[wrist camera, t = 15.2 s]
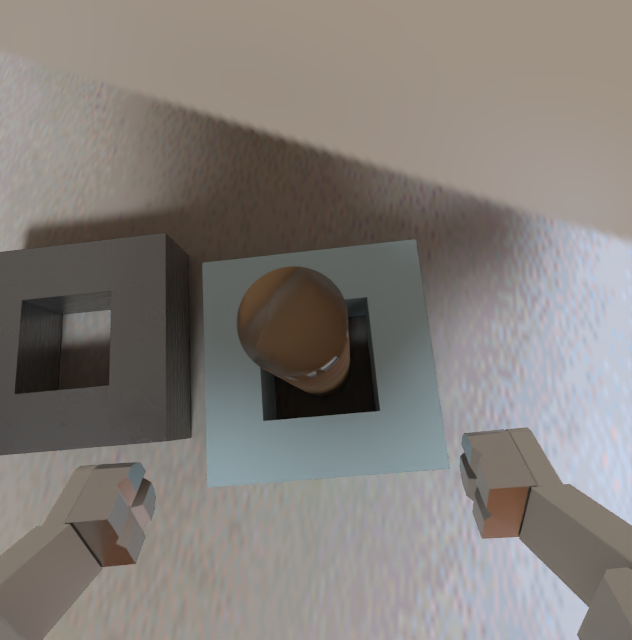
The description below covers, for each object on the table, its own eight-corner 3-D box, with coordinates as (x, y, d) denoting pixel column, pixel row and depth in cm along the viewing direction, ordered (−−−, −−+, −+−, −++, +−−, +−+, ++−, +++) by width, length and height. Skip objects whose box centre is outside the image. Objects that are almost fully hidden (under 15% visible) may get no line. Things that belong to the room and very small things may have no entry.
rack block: (230, 476, 21) (207, 487, 18) (223, 285, 23) (202, 262, 20) (433, 460, 20) (449, 468, 17) (406, 265, 23) (415, 239, 19)
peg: (294, 398, 22) (239, 381, 11) (290, 341, 22) (234, 272, 12) (353, 393, 22) (353, 370, 11) (347, 336, 22) (342, 260, 12)
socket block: (5, 453, 22) (-47, 459, 19) (20, 274, 25) (-25, 254, 22) (190, 438, 22) (165, 441, 19) (188, 255, 24) (165, 232, 21)
